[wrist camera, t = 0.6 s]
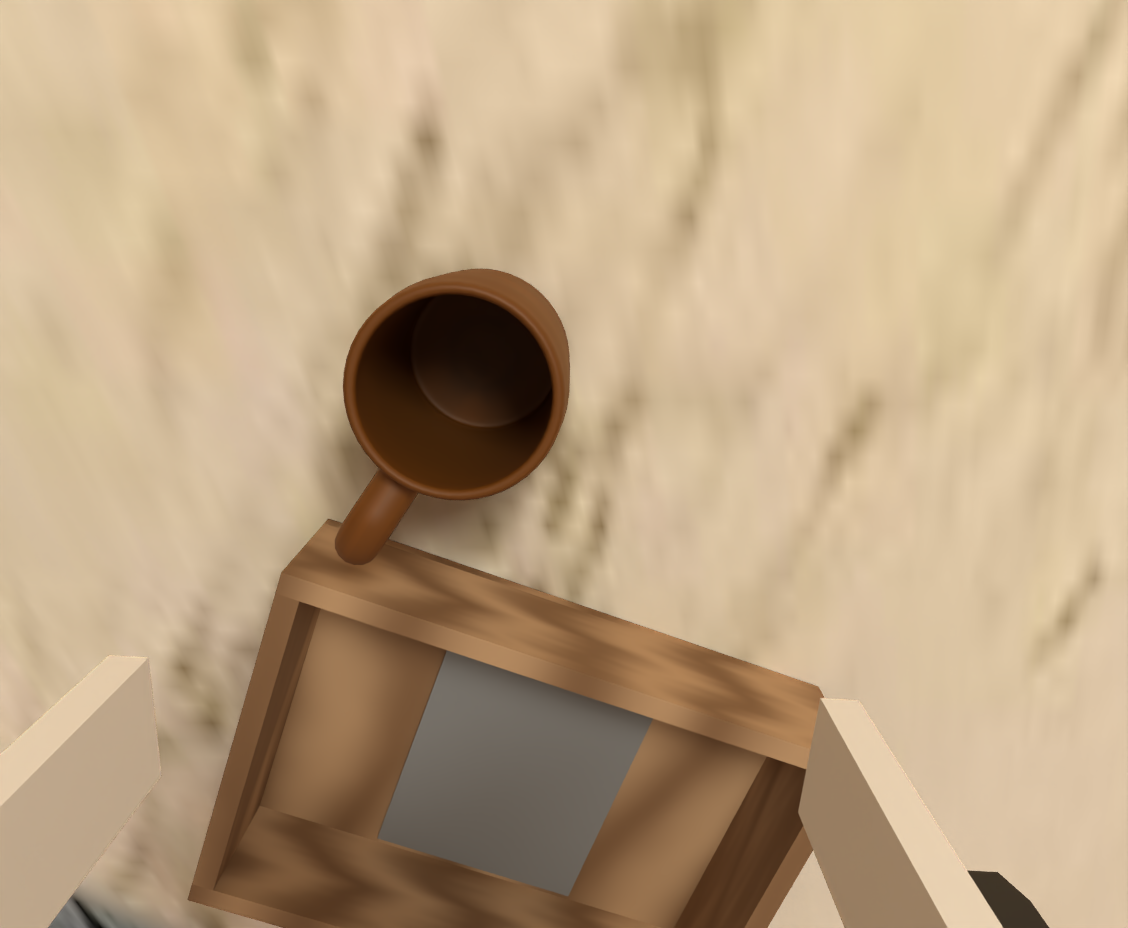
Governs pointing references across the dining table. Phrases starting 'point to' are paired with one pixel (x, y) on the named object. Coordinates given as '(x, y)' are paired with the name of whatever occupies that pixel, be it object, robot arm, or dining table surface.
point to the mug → (451, 396)
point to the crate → (392, 716)
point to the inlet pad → (511, 774)
